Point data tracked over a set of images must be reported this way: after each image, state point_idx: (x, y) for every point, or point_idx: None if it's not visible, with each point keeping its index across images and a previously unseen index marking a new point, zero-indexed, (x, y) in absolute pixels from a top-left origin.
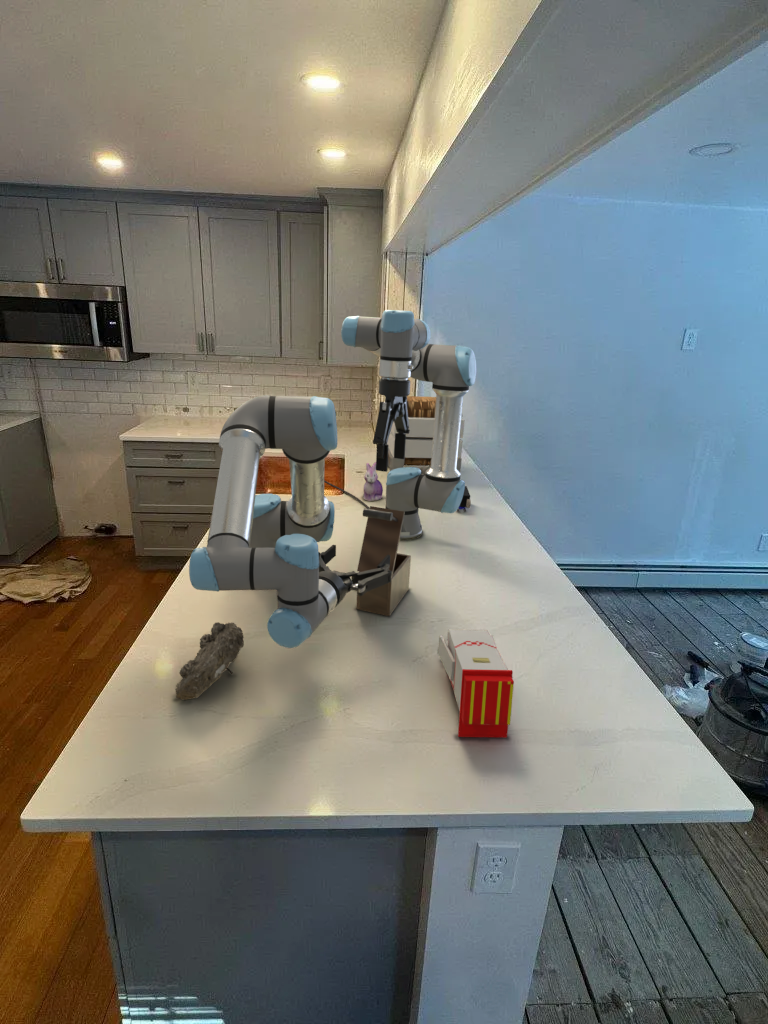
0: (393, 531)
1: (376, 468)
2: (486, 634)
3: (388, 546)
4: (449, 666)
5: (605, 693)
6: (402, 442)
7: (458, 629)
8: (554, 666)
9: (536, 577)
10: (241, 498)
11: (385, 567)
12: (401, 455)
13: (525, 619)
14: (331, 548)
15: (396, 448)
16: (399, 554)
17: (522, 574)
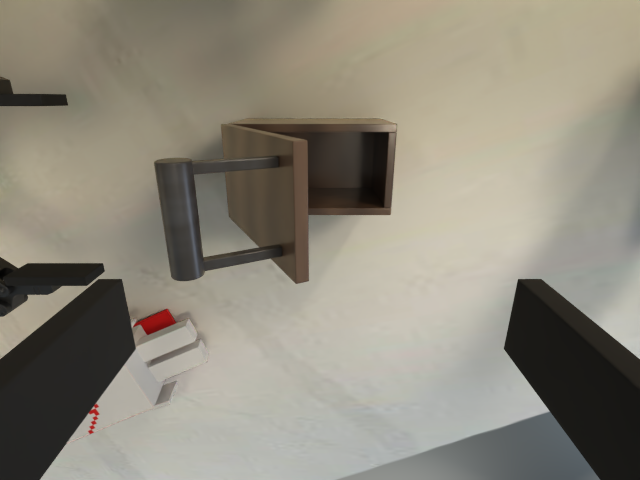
0: (266, 235)
1: (91, 290)
2: (133, 410)
3: (249, 215)
4: None
5: (207, 476)
6: (594, 443)
7: (127, 370)
8: (234, 431)
9: (510, 391)
10: None
11: (28, 290)
12: (521, 349)
13: (345, 390)
14: (8, 104)
15: (564, 342)
16: (385, 186)
17: (516, 370)
